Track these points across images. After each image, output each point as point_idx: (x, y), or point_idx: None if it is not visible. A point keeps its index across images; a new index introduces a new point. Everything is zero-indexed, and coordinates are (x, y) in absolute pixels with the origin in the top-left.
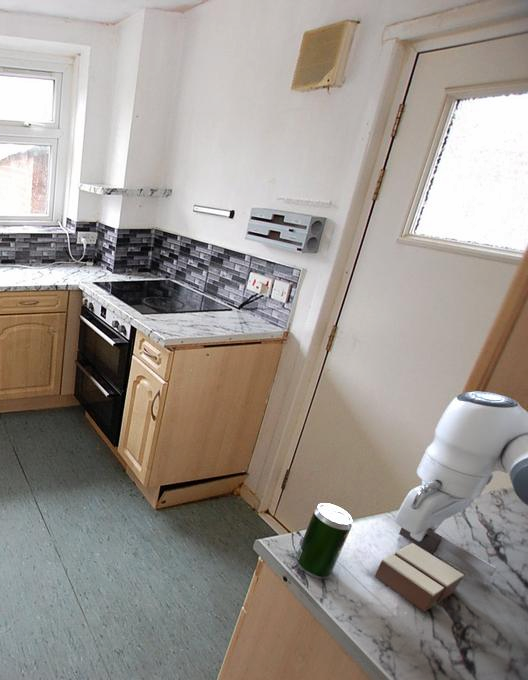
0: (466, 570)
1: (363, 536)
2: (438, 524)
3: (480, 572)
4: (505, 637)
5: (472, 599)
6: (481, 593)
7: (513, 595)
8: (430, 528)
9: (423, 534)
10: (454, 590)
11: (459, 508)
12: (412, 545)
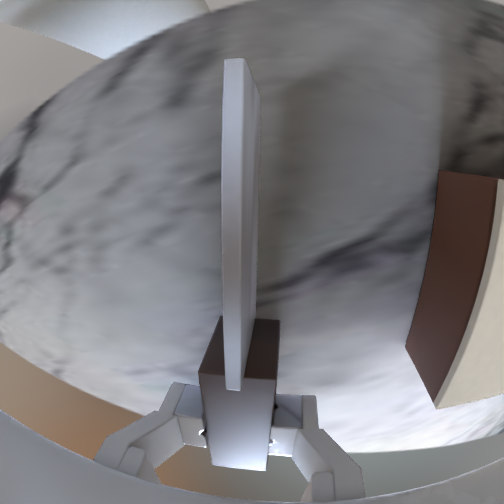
0: (258, 186)
1: (384, 433)
2: (155, 431)
3: (255, 130)
4: (473, 20)
5: (406, 109)
6: (318, 95)
7: (175, 39)
8: (202, 425)
9: (325, 432)
10: (449, 171)
11: (13, 466)
12: (458, 399)
